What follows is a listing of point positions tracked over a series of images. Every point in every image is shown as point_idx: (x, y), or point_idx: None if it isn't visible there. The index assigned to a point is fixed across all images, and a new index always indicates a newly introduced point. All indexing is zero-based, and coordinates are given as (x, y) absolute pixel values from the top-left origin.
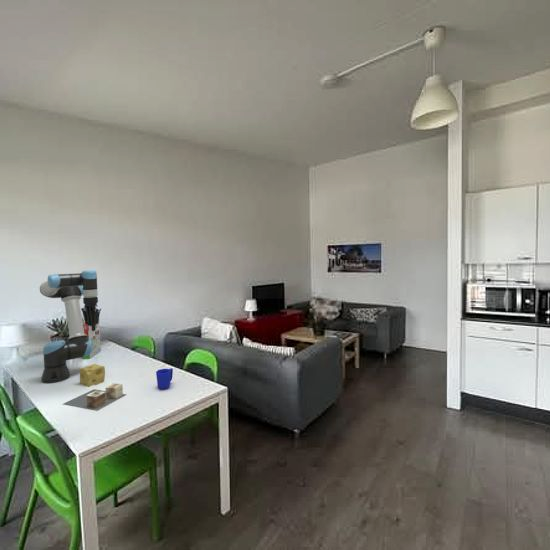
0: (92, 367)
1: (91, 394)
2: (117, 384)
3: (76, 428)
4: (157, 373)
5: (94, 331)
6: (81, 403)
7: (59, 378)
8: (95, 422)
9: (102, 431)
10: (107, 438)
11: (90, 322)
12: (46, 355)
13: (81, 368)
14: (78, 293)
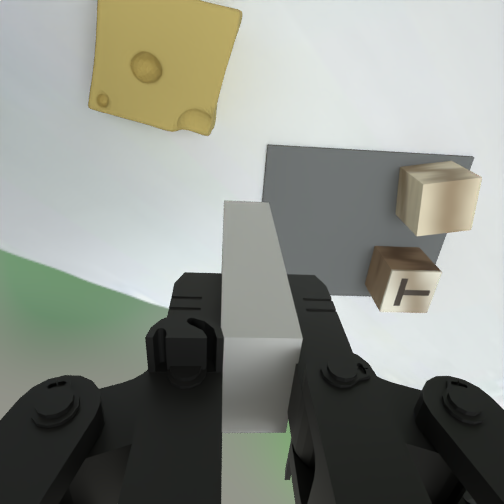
0: (166, 64)
1: (396, 302)
2: (458, 190)
3: (418, 371)
4: None
5: (276, 249)
6: (324, 271)
7: None
8: (455, 340)
9: (500, 364)
10: None
11: (154, 438)
12: None
13: (97, 98)
14: None
